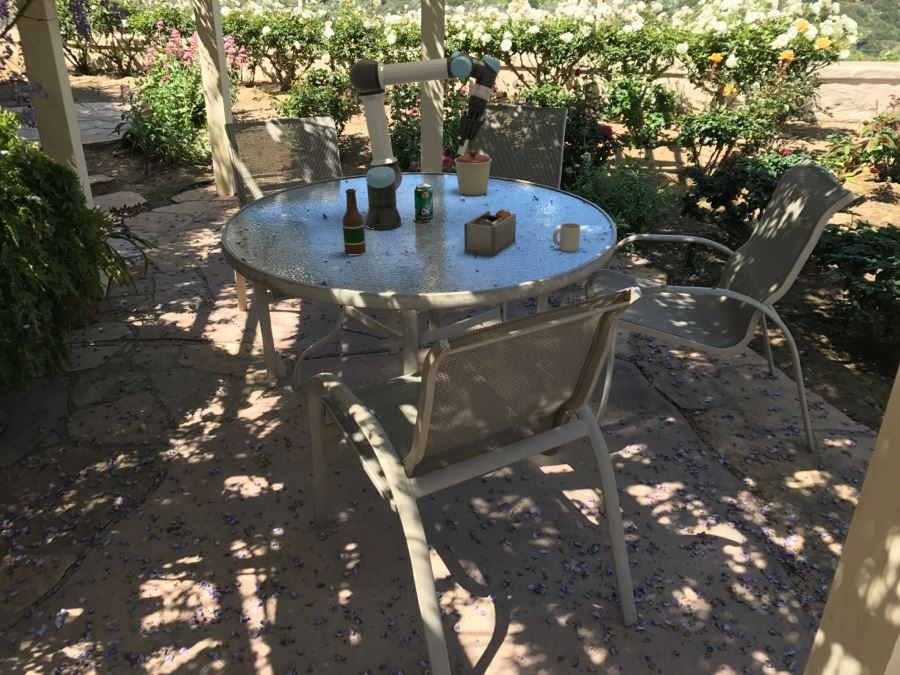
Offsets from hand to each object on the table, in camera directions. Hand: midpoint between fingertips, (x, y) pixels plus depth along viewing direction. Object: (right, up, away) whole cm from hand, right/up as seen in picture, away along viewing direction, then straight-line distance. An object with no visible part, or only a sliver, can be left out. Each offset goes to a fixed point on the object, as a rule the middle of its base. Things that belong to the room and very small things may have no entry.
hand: (460, 154), depth 288 cm
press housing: (+11, -41, -21) cm, 47 cm away
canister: (+7, -5, +56) cm, 57 cm away
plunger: (+13, -36, -20) cm, 43 cm away
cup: (+39, -42, -24) cm, 62 cm away
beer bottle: (-40, -44, -25) cm, 64 cm away
